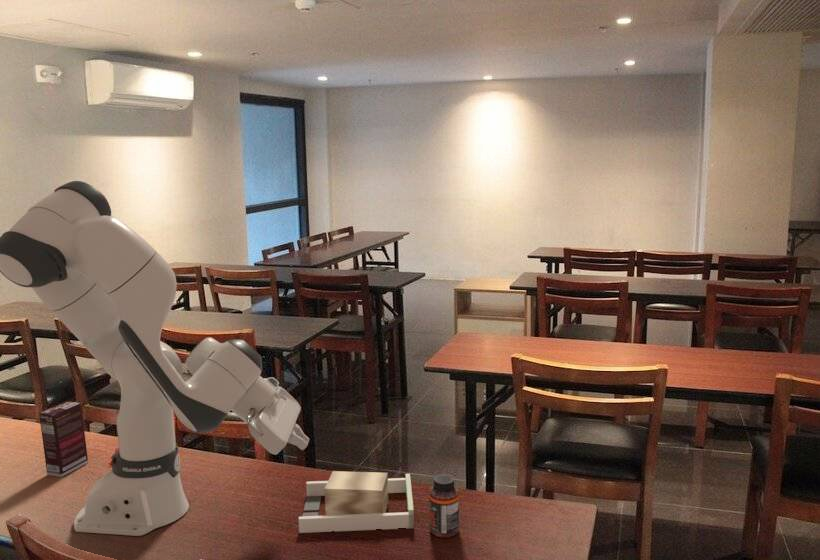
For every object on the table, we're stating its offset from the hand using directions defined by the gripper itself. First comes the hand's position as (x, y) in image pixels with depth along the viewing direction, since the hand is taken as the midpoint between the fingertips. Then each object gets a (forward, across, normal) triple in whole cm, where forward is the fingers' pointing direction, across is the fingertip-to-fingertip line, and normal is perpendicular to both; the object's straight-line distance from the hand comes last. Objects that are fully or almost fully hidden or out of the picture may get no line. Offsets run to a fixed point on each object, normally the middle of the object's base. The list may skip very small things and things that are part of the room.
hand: (306, 445), depth 142 cm
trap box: (+18, +2, +4) cm, 19 cm away
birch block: (+18, +2, +4) cm, 19 cm away
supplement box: (-33, +24, +55) cm, 69 cm away
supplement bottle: (+31, -7, -8) cm, 33 cm away
